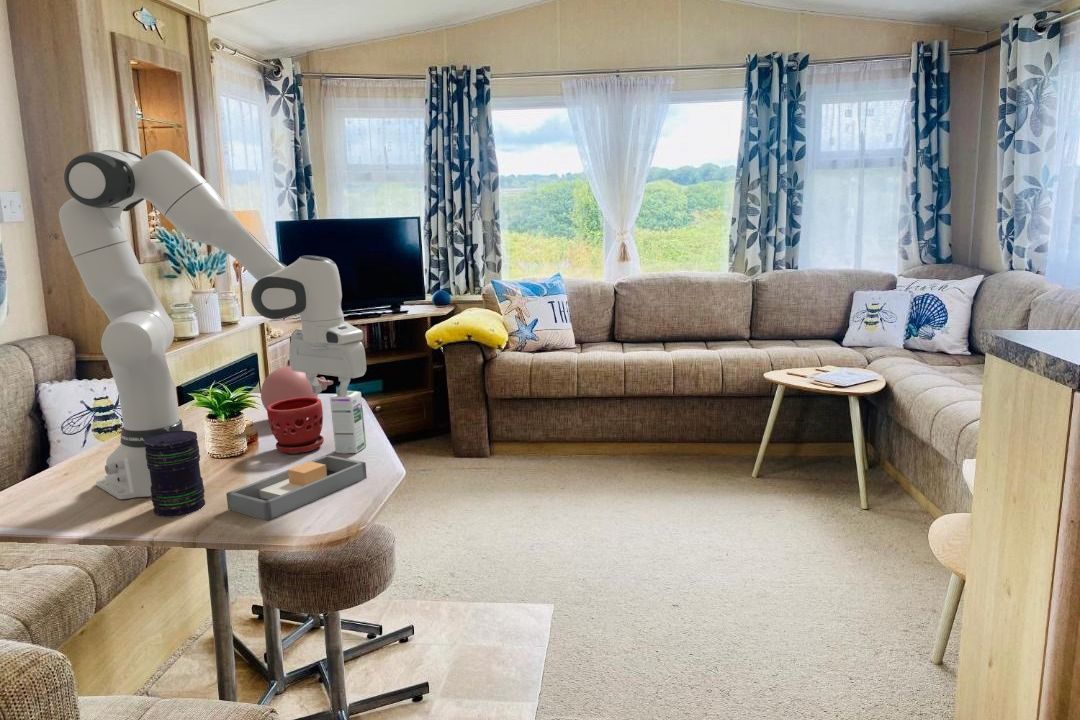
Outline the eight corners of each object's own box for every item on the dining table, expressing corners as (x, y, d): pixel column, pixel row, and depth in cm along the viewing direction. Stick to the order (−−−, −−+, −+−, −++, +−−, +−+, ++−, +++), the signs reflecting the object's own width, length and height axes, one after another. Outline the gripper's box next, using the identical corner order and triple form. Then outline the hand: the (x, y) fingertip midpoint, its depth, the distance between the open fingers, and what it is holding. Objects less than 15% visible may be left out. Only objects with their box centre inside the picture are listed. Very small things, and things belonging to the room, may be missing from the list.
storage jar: (173, 498, 167) (164, 430, 164) (215, 499, 165) (207, 430, 162) (142, 516, 157) (132, 444, 154) (187, 518, 155) (177, 445, 152)
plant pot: (309, 437, 207) (305, 393, 205) (335, 447, 198) (331, 401, 195) (262, 449, 198) (257, 403, 196) (287, 460, 189) (282, 412, 186)
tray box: (228, 509, 159) (226, 493, 158) (328, 469, 181) (327, 454, 181) (267, 520, 153) (266, 503, 152) (366, 477, 175) (365, 462, 174)
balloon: (339, 420, 222) (335, 367, 219) (265, 430, 215) (259, 375, 212) (332, 408, 237) (328, 358, 234) (262, 416, 229) (257, 365, 226)
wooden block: (289, 483, 167) (287, 469, 167) (310, 474, 172) (309, 461, 172) (305, 486, 165) (304, 473, 164) (327, 477, 170) (325, 464, 169)
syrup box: (356, 454, 192) (352, 396, 189) (334, 453, 193) (329, 395, 190) (366, 446, 197) (362, 390, 195) (344, 446, 199) (339, 390, 196)
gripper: (279, 331, 172) (285, 392, 175) (346, 336, 161) (352, 402, 164) (301, 326, 177) (307, 386, 180) (368, 332, 166) (373, 395, 169)
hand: (329, 394), depth 172 cm, fingers open, 6 cm apart
